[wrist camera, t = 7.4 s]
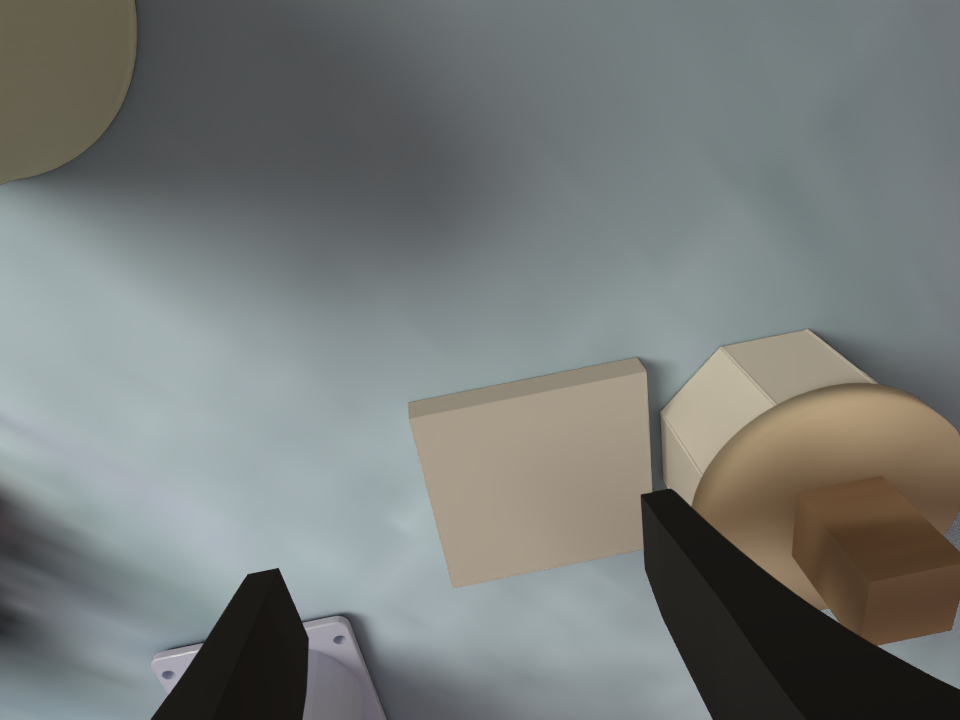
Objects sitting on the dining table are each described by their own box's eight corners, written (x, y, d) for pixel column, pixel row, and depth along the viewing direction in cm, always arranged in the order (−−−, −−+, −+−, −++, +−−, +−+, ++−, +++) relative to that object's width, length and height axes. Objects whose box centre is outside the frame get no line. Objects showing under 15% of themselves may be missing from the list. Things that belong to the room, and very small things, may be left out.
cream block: (646, 529, 27) (655, 547, 26) (451, 568, 27) (452, 588, 26) (636, 357, 23) (646, 371, 22) (408, 402, 23) (408, 419, 22)
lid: (922, 563, 24) (1028, 676, 20) (691, 611, 23) (750, 734, 19) (968, 357, 19) (1114, 448, 16) (688, 413, 19) (763, 519, 15)
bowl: (847, 484, 27) (914, 556, 23) (663, 521, 27) (703, 600, 23) (869, 316, 23) (954, 372, 20) (657, 358, 23) (704, 422, 20)
